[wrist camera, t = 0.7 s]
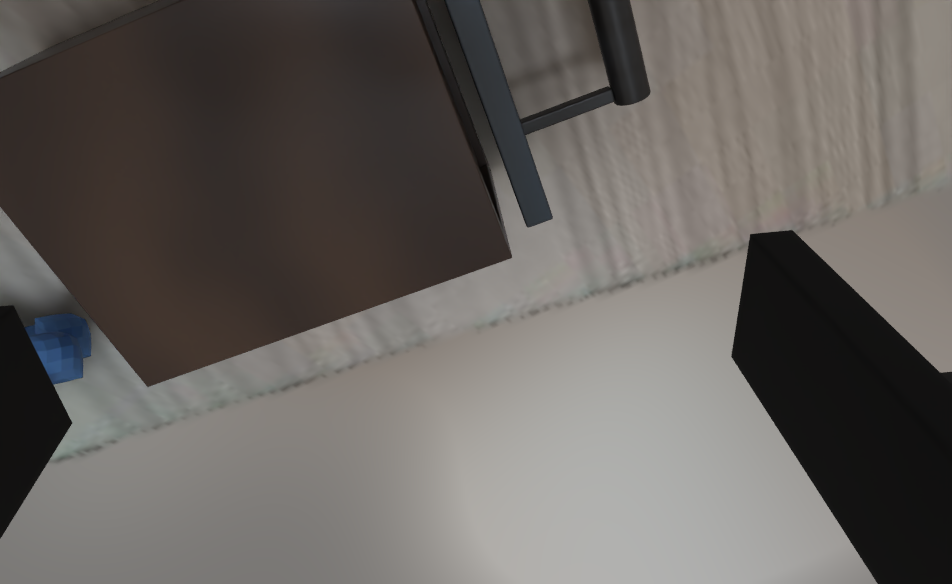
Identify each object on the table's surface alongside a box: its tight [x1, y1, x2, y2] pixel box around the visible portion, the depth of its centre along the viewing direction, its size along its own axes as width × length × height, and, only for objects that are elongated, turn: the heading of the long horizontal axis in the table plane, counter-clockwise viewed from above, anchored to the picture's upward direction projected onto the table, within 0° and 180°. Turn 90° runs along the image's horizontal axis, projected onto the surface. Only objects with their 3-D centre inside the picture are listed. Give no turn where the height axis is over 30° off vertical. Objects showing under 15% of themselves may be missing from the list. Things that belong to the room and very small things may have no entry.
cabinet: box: [0, 0, 512, 387], centre depth 31 cm, size 18×14×10 cm
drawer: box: [414, 0, 650, 227], centre depth 31 cm, size 22×13×8 cm, turn 110°
